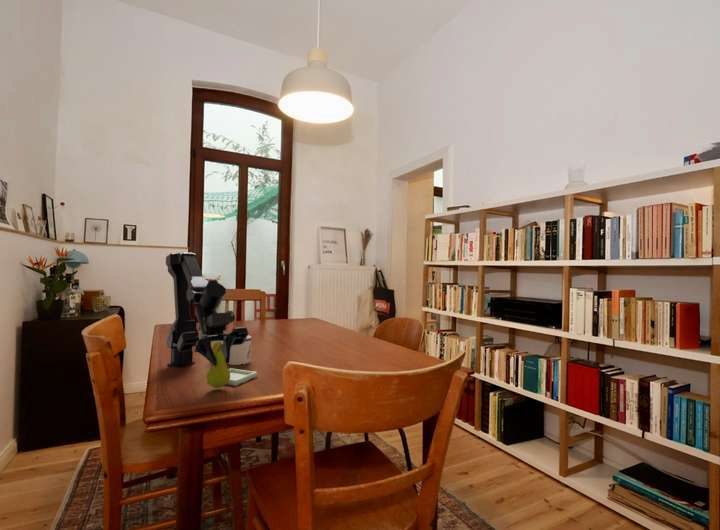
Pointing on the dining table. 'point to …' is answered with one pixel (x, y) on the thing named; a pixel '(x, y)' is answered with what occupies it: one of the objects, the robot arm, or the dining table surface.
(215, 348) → the lemon
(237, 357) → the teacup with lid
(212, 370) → the fruit
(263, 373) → the dining table surface
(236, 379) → the tray
